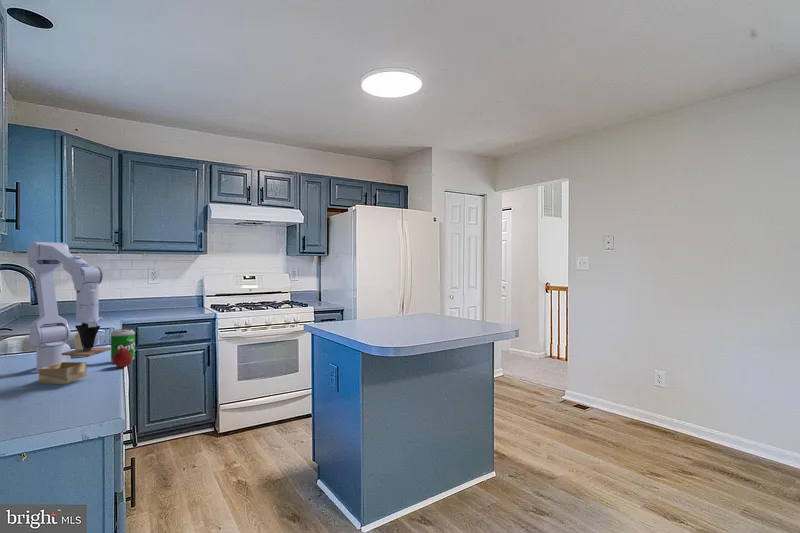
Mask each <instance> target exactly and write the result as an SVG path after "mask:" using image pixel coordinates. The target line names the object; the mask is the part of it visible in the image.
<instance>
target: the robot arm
mask: <svg viewBox="0 0 800 533" xmlns="http://www.w3.org/2000/svg"><path fill="white" fill-rule="evenodd" d="M26 254H27V263H28V267H29V268H31V269H33V270H34V271H33V272H34V277H35V287H36V296H37V303H38V305H37V306H38V313H39V315H38V316H39V317H38V318H37V319H35V320H33V322H32V323H31V324H30V326H29V334H28V335H29V343H30V344H31V345H32V346H34V347H36V369H35V370H32V371H30V373H34V374H35V373H38V374H39V369H40V368H44V367H47V366H50V365H53V364H57V363H60V362H72V361H71V358H72V356H69V355H62V353H65V352H69V351H72V350H71V347H70V345H69V344H68V343H67V342H68V341H69V339H70V338H71V329H70V326H69V323H68V320H67V319H66V318H64V317H62V316H60V315H59V312H58V311H59V310H58V302H57V295H56V294H57V293H56V284H55V278H54V270H56V269H57V268H60V267H61V266H62V267H63V271H65V272H66V273H68V274H69V275H70V276H71V278H72V279H71V280H72V283H73V288H74V291H76V292H75V293H76V295H75V296H76V297H75V298H76V305H75V306H76V309H75V310H76V311H75V312H76V313H75V314H76V317H75V323H81V324H78V325H77V324H76V325H74V328H76V331H77V333H79V335H80V339H81V344H82V347H83V346H84V348H85V349H87V348H94V344H95V340H96V336H97V334H98V332H99V330H100V329H101V326H100V325H98V323H97V322H99V321H102V320H104V317H101V316H100V317H99V314H100V313H99V311H100V310H99V307H100V306H99V301H100V300H99V298H100V297H99V287H100V286H99V285H100V284H101V283H102V281H103V278H104V273H103V271H102V269H101V267H100V266H98V265H97V266H91V265H90V264H89V263H88V262H87V261H85V260H84V259H82V256H80V255H73V254H72V253H71V251H70V249H69V245H68V244H66V243H65V242H45V241H34V240H33V241H31V242H30V243H29V245H28V247H27V251H26Z"/></svg>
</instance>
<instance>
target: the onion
mask: <svg viewBox="0 0 800 533" xmlns="http://www.w3.org/2000/svg"><path fill="white" fill-rule="evenodd" d="M131 361H132V362H133V360H132V354H131V353H130V352H129V350H127V349H125V348H124V347H123V346H121V348H120V349H119V350H118V351H117V352H116V353H115V354H114V356H113V362H112V363H113V364H114V366H117V367H118V368H120V369H123V368H126V367H127V366H129V365H130V364H131V363H132V362H131Z"/></svg>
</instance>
